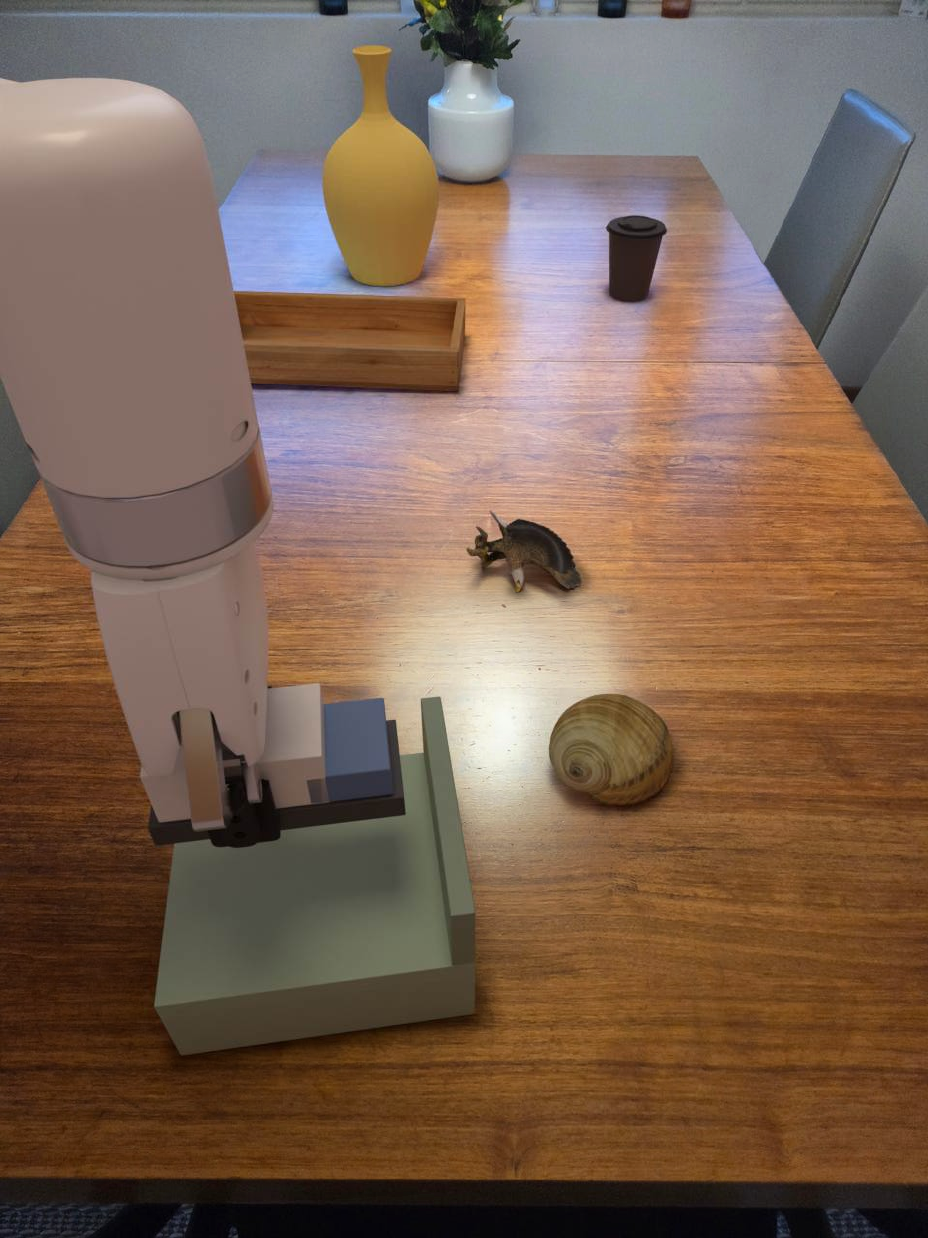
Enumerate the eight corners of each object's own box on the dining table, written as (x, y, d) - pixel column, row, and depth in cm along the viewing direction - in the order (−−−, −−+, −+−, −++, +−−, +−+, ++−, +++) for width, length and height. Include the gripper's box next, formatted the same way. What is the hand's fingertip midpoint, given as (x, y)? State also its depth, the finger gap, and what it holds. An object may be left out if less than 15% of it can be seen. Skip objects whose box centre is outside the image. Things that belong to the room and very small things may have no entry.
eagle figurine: (468, 598, 73) (575, 595, 71) (463, 512, 72) (572, 506, 70) (488, 587, 80) (587, 584, 78) (484, 509, 79) (583, 503, 77)
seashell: (622, 763, 67) (574, 674, 65) (705, 747, 62) (656, 651, 61) (570, 843, 59) (515, 745, 58) (661, 831, 55) (603, 724, 53)
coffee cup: (597, 303, 120) (604, 228, 113) (601, 281, 126) (608, 208, 119) (657, 307, 119) (668, 231, 112) (658, 285, 125) (668, 211, 118)
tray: (465, 337, 112) (465, 293, 109) (458, 394, 101) (458, 348, 97) (229, 332, 114) (221, 289, 110) (197, 388, 103) (187, 342, 99)
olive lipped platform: (180, 1056, 47) (126, 958, 40) (202, 835, 57) (162, 725, 50) (474, 1014, 49) (475, 913, 41) (444, 806, 59) (440, 695, 51)
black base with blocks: (155, 846, 42) (127, 782, 38) (166, 764, 45) (142, 698, 42) (406, 815, 43) (399, 750, 39) (397, 737, 46) (391, 671, 43)
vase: (312, 286, 125) (284, 57, 106) (357, 247, 136) (339, 34, 117) (418, 300, 121) (408, 65, 102) (455, 259, 132) (453, 40, 114)
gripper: (95, 381, 37) (189, 676, 50) (-7, 659, 25) (152, 962, 37) (272, 368, 38) (322, 662, 50) (260, 633, 26) (330, 939, 38)
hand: (249, 787), depth 44 cm, fingers closed on black base with blocks, 5 cm apart
